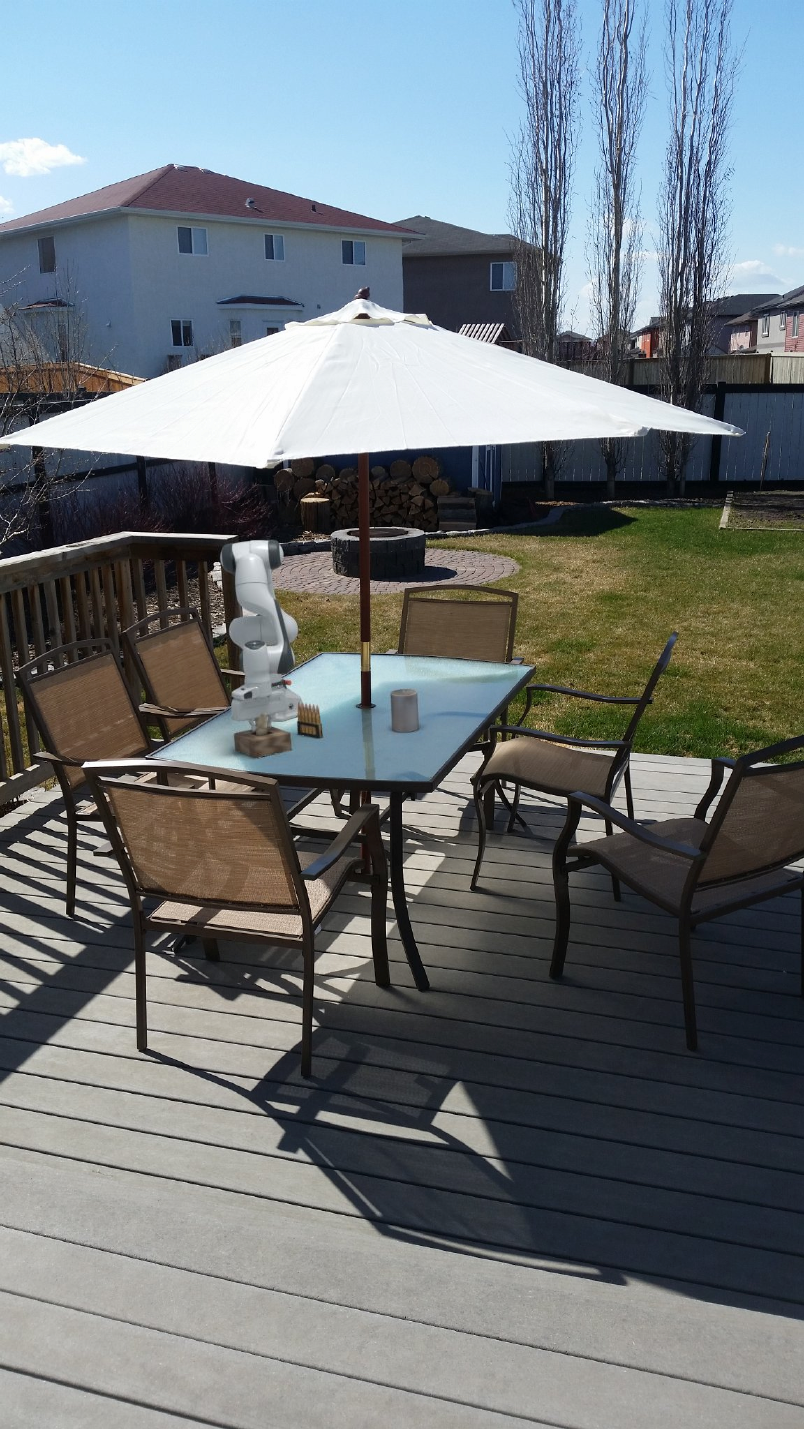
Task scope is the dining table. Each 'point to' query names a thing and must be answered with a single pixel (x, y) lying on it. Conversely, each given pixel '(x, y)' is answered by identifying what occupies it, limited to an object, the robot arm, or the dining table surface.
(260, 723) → the peg
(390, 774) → the dining table surface
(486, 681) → the dining table surface
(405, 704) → the pillar candle
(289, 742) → the socket block
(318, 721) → the ammunition clip
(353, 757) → the dining table surface
